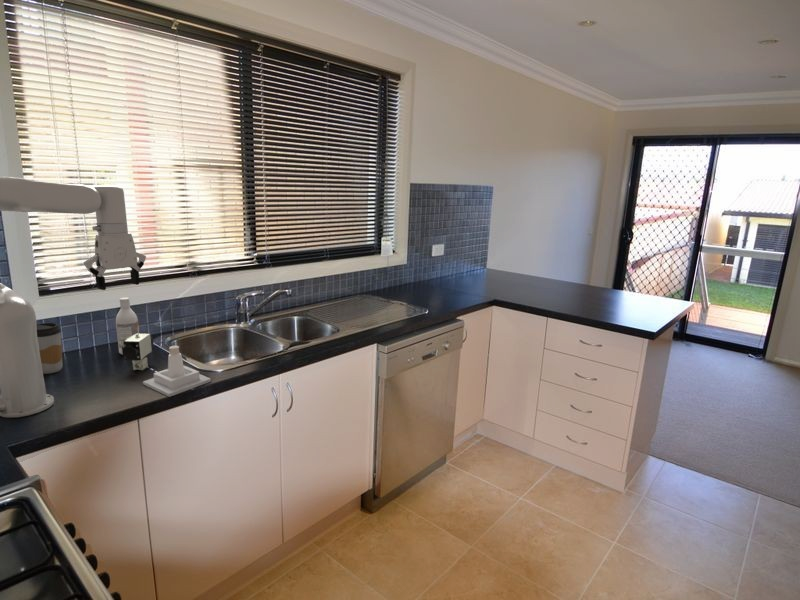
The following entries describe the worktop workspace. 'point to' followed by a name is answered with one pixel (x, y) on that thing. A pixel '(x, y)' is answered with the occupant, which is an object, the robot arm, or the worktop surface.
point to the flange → (176, 381)
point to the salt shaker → (175, 363)
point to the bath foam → (125, 323)
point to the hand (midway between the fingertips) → (119, 286)
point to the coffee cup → (50, 347)
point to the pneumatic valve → (138, 349)
